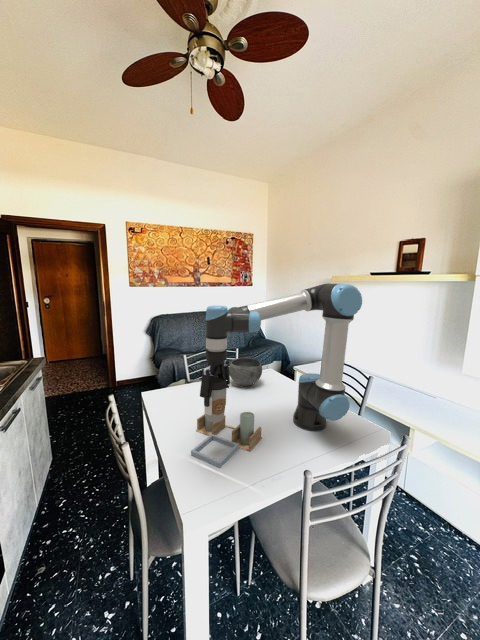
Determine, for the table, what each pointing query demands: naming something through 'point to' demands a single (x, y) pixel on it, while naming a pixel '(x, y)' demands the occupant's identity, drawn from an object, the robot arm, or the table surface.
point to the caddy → (235, 433)
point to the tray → (213, 461)
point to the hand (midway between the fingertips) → (215, 408)
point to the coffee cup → (218, 400)
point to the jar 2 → (246, 427)
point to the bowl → (245, 371)
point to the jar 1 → (208, 424)
